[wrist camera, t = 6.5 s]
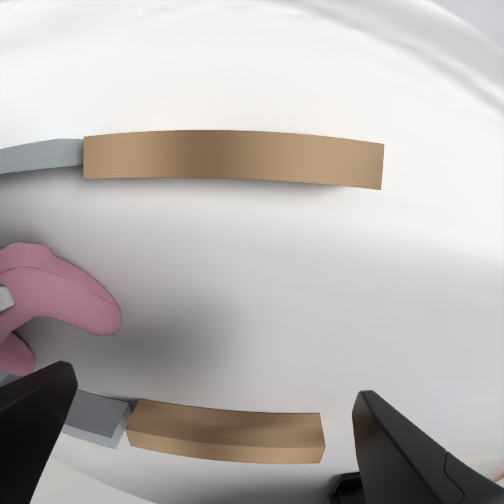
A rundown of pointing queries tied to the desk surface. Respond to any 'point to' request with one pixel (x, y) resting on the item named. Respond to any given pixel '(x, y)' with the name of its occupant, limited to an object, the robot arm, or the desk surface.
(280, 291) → the desk surface
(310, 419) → the pair of wooden bars
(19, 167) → the grey u-shaped frame
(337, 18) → the desk surface
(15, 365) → the video game controller
